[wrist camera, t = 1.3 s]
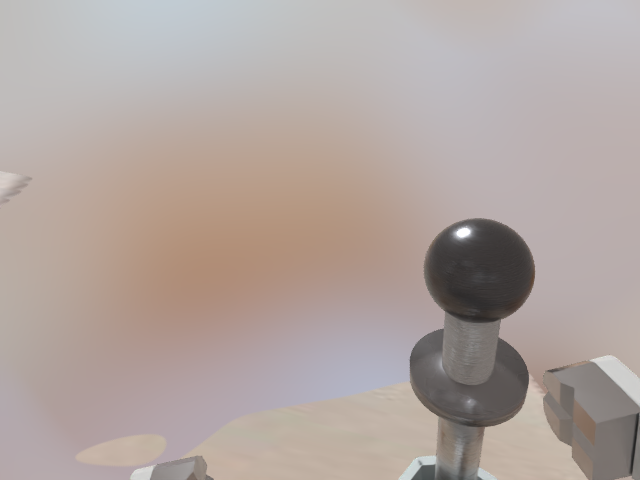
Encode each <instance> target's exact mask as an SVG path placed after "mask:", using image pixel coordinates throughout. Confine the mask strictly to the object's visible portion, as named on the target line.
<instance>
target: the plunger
mask: <svg viewBox="0 0 640 480" xmlns="http://www.w3.org/2000/svg"><path fill="white" fill-rule="evenodd" d="M424 278H425V283H426V286H427V289H428V291H429V293H430V295H431V296H432V298H433V299H434V301H435V302H436V303H437V304H438V305H439V306H440V307H441V308H442V309H443V310H444V311H445V321H444V329H440V330H437V331H434V332H432V333H430V334H427V335H426V336H424V337H423V338H422V339H421V340H419V341H418V343H417V344H416V345H415V347H414V348H413V350H412V353H411V356H410V382H411V386H412V389H413V391H414V393H415V395H416V396H417V397H418V399H419V400H420V401H421V402H422V404H423V405H424V406H425V407H427V408H428V409H429V410H430V411H431V412H433V413H434V414H436V415H437V416H439V418H438V434H437V450H436V466H435V480H477V477H478V470H479V463H480V457H481V450H482V443H483V436H484V430H485V427H488V426H494V425H498V424H501V423H503V422H506V421H508V420H509V419H511V418H513V417H514V416H515V415H516V414H517V413H518V412H519V411H520V409H521V408H522V406H523V404H524V401H525V398H526V393H527V389H528V384H529V374H528V370H527V366H526V364H525V362H524V360H523V359H522V357H521V356H520V355H519V353H518V352H517V351H516V350H515V349H514V348H513V347H512V346H511V345H509V344H508V343H507V342H505V341H504V340H502V339H500V338H499V337H498V335H499V329H500V322H501V319H504V318H506V317H508V316H510V315H511V314H513V313H514V312H516V311H517V310H518V309H519V308H520V307H521V306H522V305H523V304H524V302H525V301H526V299H527V298H528V297H529V295H530V293H531V290H532V287H533V284H534V278H535V265H534V260H533V256H532V254H531V252H530V250H529V248H528V246H527V244H526V243H525V241H524V240H523V239H522V238H521V237H520V236H519V235H518V234H517V233H516V232H515V231H514V230H512V229H511V228H509V227H508V226H506V225H504V224H502V223H499V222H497V221H493V220H489V219H481V218H475V219H467V220H463V221H460V222H457V223H454V224H452V225H451V226H449V227H447V228H446V229H444V230H443V231H442V232H441V233H439V234H438V235H437V237H436V238H435V239H434V240H433V242H432V243H431V245H430V247H429V249H428V251H427V254H426V257H425V261H424Z"/></svg>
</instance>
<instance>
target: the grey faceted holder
mask: <svg viewBox="0 0 640 480" xmlns="http://www.w3.org/2000/svg"><path fill="white" fill-rule="evenodd" d="M435 466H436V456H424V457H417V458H415V459H414V461H413V462H412V463H411V464H410V466H409V467H408V468H407V469H406V471H405V472H404V473H403V474H402V476H401V477H400V478H399V480H435ZM477 480H498V479H497V478H495V477H494V476H492V475H491V474H489V473H488V472H486V471H485V470H483V469H482V468H480V467H479V470H478V477H477Z"/></svg>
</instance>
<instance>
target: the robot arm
mask: <svg viewBox="0 0 640 480" xmlns="http://www.w3.org/2000/svg"><path fill="white" fill-rule="evenodd" d="M543 384H544V386H545V387H546V388H547V389H548V393H547V394H546V395H545V397H544V398H543V404H544V412H545V415H546V418H547V421H548V423H549V425H550V427H551V429H552V430H553V432H554V433H555V435H556V436H557V438H558V439H559V440H560V441H562V442H564V443H566V444H568V445H570V446H571V447H572V458H573V459H574V461H575V462H576V463H577V465H578V466H579V467H580V469H581V470H582V471H583V473H584V474H585V475H586V477H587V478H588V480H614V479H619V478H623V477H628V476H632V478H633V479H634V480H640V378H639V377H638V376H636V375H635V374H634V373H633V372H632V371H631V370H630V369H628V368H627V367H626V366H625V365H624V364H623V363H622V362H621V361H619V360H618V359H617V358H616V357H613V356H611V355H608V356H604V357H600V358H596V359H592V360H588V361H583V362H579V363H575V364H571V365H567V366H563V367H560V368H556V369H552V370H548V371H545V373H544V375H543ZM206 470H207V464H206V462H205V461H204V459H203V457H202V456H195V457H190V458H185V459H181V460H176V461H172V462H167V463H162V464H157V465H155V466H150V467H145V468H141V469H136V470H135V472H134V473H133V474H132V475H131V477H130V479H129V480H214V479H213V478H211V477H210V476H208V475H206Z"/></svg>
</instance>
